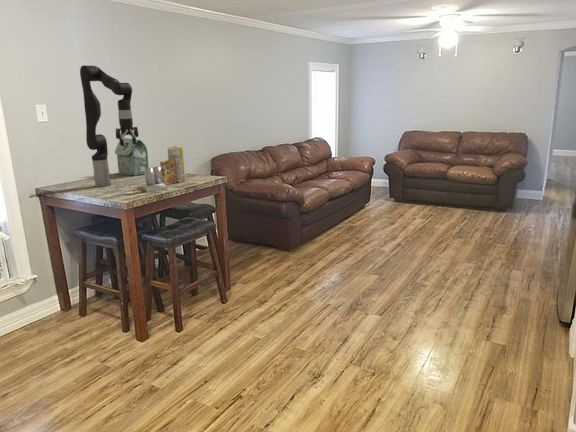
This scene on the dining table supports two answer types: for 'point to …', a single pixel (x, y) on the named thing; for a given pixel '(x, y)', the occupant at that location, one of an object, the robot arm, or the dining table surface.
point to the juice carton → (177, 162)
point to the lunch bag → (132, 157)
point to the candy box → (168, 172)
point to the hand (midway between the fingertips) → (128, 145)
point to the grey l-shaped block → (154, 186)
